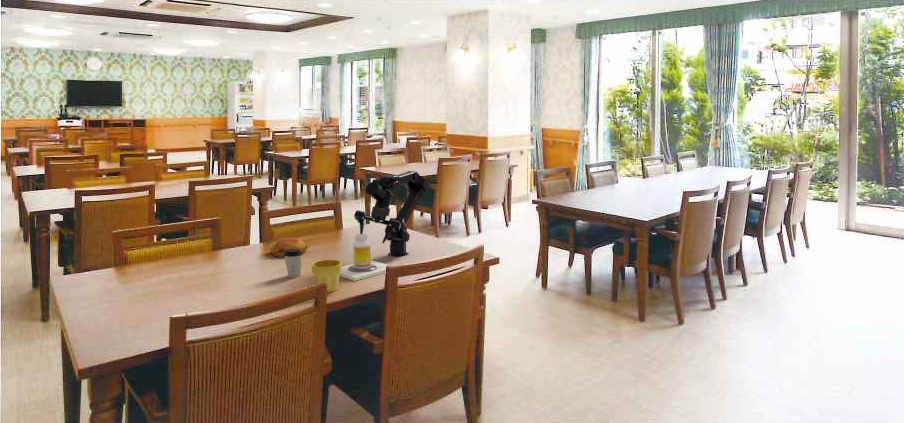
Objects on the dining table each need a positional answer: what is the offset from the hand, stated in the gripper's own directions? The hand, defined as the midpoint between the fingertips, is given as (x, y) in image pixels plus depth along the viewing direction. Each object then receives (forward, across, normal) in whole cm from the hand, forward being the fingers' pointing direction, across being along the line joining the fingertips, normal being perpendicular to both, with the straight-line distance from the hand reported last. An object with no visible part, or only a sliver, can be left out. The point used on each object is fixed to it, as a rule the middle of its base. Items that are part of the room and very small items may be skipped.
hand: (371, 240), depth 252 cm
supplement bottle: (+12, 0, -3) cm, 13 cm away
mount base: (+14, 0, -3) cm, 14 cm away
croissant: (+10, -37, +26) cm, 46 cm away
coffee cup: (+22, -24, -6) cm, 33 cm away
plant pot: (+27, -7, -23) cm, 36 cm away
